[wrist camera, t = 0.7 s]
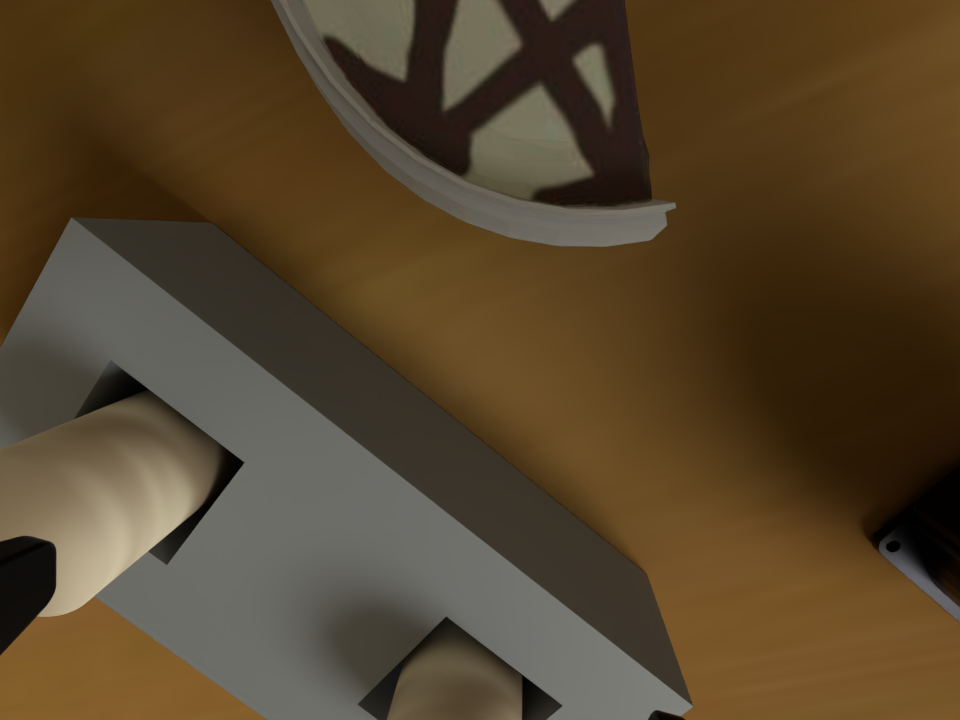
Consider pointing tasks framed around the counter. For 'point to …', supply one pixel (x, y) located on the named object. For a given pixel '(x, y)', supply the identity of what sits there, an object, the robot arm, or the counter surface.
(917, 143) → the counter surface
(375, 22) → the food container
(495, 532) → the grey peg board
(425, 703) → the birch peg
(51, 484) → the birch peg
